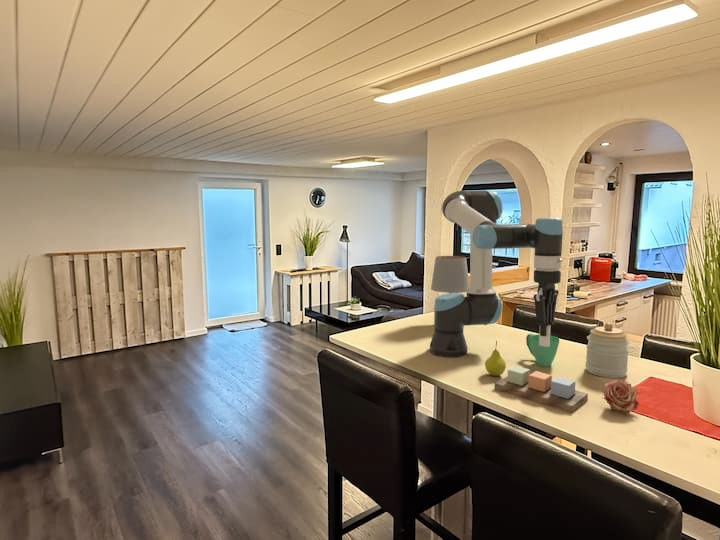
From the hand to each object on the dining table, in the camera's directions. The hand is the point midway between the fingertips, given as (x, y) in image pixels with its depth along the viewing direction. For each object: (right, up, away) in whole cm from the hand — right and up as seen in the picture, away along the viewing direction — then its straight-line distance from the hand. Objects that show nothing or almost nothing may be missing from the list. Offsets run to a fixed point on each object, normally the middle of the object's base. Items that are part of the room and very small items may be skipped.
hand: (544, 345), depth 136 cm
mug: (+11, -12, +31) cm, 35 cm away
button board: (-1, -15, +1) cm, 15 cm away
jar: (+30, -13, +20) cm, 38 cm away
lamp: (-11, -4, +88) cm, 89 cm away
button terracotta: (-1, -13, +1) cm, 13 cm away
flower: (+17, -17, -10) cm, 26 cm away
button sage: (-6, -13, +6) cm, 15 cm away
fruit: (-10, -14, +18) cm, 24 cm away
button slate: (+4, -14, -4) cm, 15 cm away
